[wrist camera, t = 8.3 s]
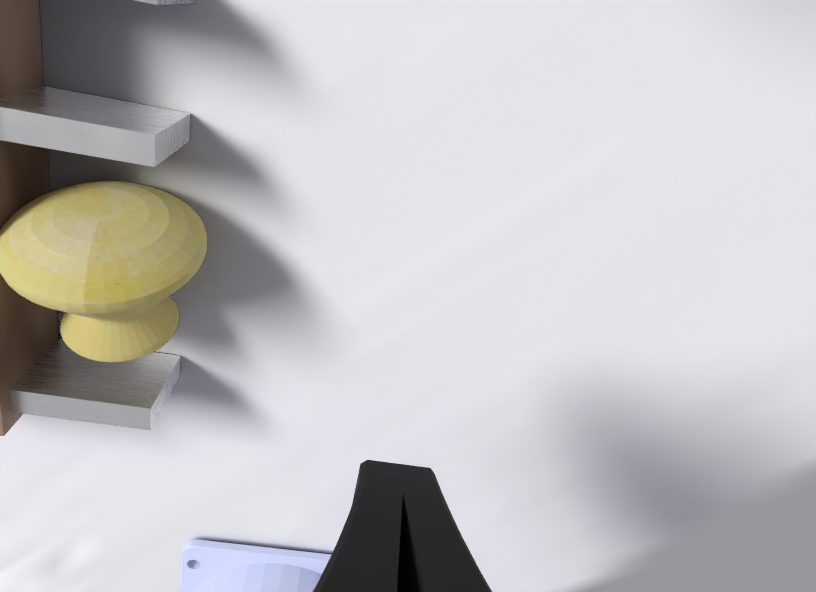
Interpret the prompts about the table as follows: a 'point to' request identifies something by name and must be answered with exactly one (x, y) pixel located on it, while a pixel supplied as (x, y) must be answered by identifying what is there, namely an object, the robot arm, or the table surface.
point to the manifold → (29, 179)
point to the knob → (105, 263)
